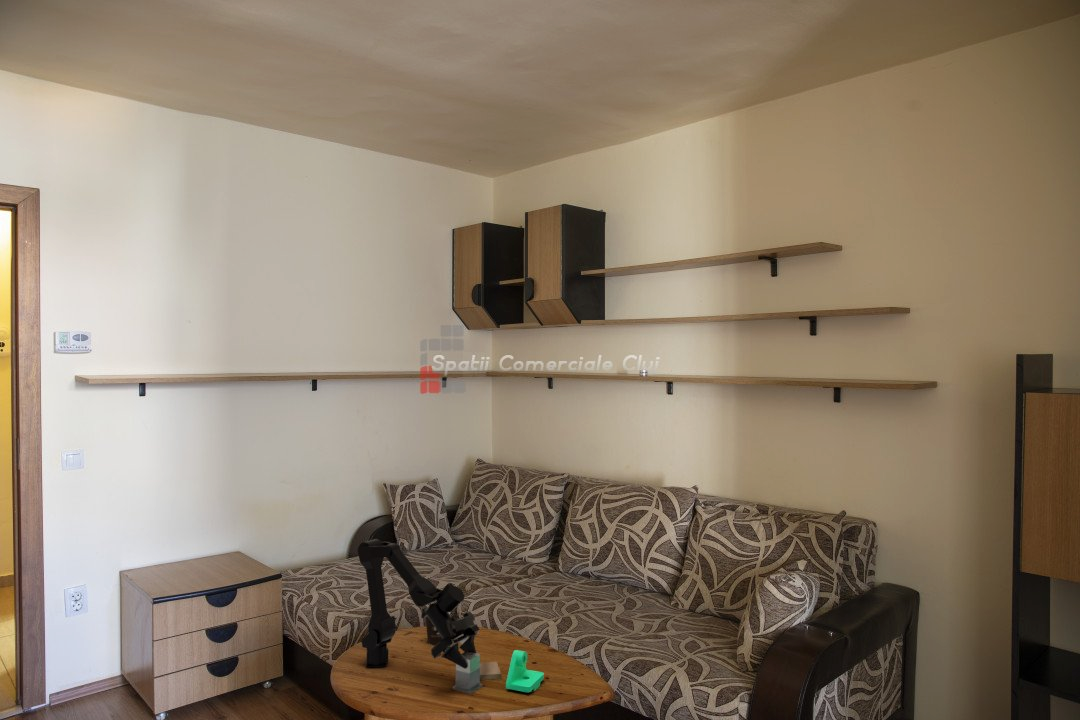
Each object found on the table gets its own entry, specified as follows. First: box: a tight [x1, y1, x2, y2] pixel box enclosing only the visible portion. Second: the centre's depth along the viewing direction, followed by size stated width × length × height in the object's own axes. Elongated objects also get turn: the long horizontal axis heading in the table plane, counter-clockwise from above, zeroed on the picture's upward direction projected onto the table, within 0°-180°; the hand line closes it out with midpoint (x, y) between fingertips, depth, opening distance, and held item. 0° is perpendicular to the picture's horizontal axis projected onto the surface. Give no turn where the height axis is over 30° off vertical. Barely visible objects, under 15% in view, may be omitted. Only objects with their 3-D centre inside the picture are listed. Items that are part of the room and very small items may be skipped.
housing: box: [451, 651, 484, 695], centre depth 219 cm, size 6×6×10 cm
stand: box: [480, 661, 502, 681], centre depth 230 cm, size 10×10×2 cm
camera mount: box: [505, 649, 545, 693], centre depth 221 cm, size 12×8×10 cm, turn 158°
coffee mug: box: [425, 612, 461, 646], centre depth 257 cm, size 12×9×10 cm
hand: (471, 664), depth 218 cm, fingers closed on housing, 5 cm apart
